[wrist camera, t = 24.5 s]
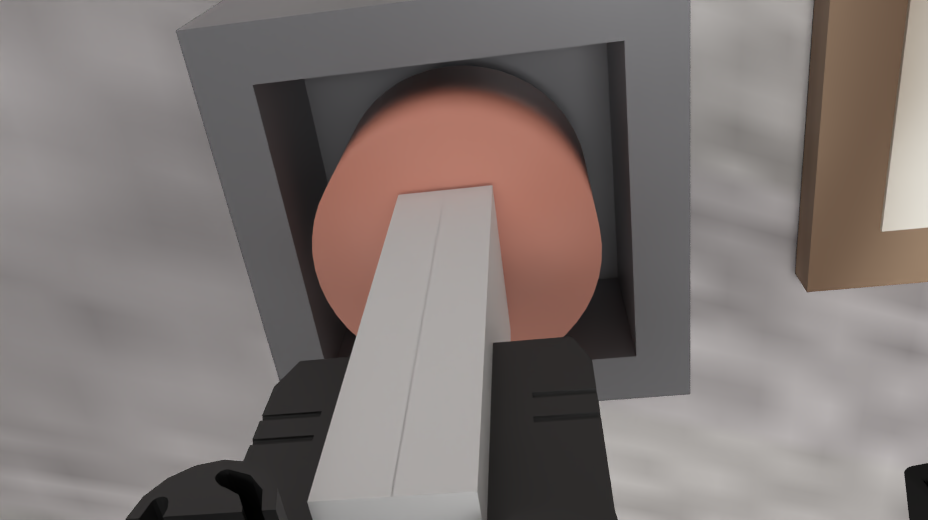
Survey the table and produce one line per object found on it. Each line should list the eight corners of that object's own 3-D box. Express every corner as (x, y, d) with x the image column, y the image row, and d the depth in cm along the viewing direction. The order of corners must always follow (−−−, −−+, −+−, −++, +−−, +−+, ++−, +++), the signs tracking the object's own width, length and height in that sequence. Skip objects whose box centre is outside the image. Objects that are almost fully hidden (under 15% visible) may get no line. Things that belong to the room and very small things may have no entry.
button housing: (337, 296, 21) (292, 422, 17) (260, -24, 17) (175, 30, 13) (651, 268, 20) (690, 394, 16) (642, -75, 16) (690, -35, 12)
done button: (368, 299, 17) (343, 384, 15) (321, 81, 15) (282, 136, 13) (593, 279, 17) (608, 363, 14) (578, 51, 15) (593, 102, 12)
